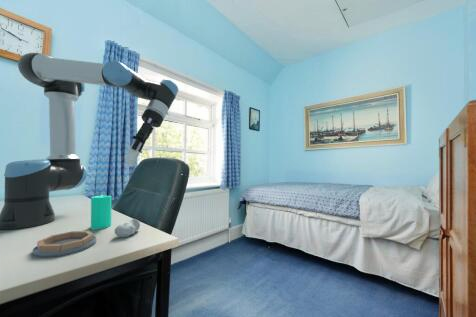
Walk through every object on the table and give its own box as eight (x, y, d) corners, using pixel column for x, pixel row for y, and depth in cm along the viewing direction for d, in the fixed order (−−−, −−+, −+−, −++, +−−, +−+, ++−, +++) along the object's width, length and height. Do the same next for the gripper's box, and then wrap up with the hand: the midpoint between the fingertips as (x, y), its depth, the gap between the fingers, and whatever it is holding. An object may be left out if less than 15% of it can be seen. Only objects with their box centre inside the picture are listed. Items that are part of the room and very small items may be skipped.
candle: (103, 229, 70) (104, 193, 70) (86, 229, 70) (86, 193, 70) (114, 223, 76) (115, 190, 76) (98, 223, 76) (99, 190, 76)
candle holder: (29, 247, 55) (29, 238, 55) (88, 234, 65) (88, 227, 65) (37, 262, 46) (37, 252, 46) (103, 245, 56) (103, 236, 56)
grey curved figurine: (122, 243, 61) (110, 236, 62) (143, 234, 68) (131, 228, 70) (126, 230, 60) (113, 223, 62) (146, 222, 68) (134, 216, 70)
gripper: (169, 105, 72) (140, 160, 65) (160, 128, 94) (138, 171, 87) (147, 94, 70) (115, 149, 62) (143, 120, 92) (119, 164, 84)
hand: (128, 162), depth 74 cm, fingers open, 13 cm apart
